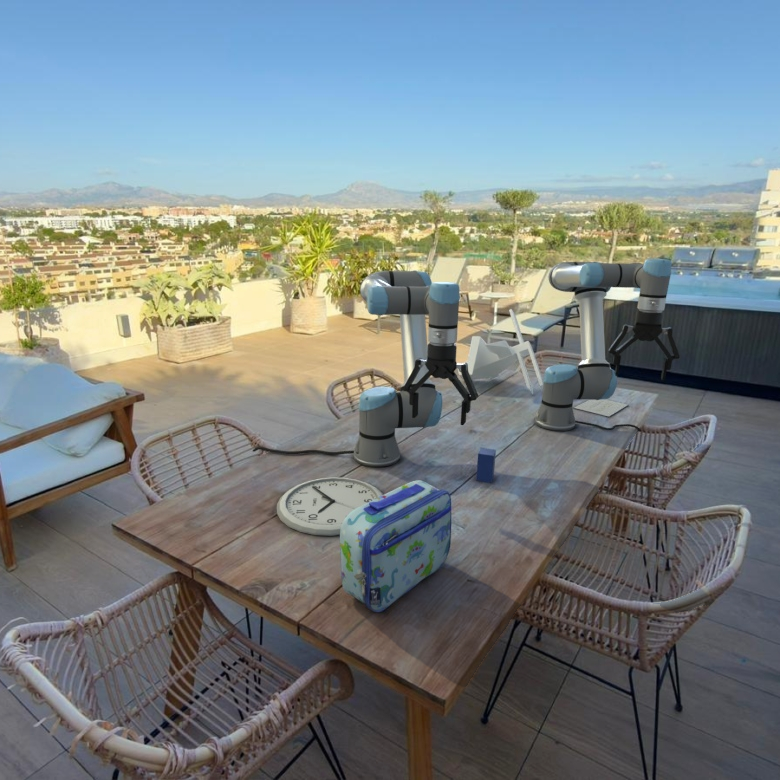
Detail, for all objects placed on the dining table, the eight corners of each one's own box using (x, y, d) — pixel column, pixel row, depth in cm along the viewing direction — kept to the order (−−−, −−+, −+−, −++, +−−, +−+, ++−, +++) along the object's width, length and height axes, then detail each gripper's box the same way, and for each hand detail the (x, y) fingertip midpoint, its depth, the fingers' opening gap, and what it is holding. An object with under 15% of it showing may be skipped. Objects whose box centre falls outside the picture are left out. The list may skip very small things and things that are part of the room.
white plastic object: (478, 423, 260) (457, 400, 235) (460, 349, 282) (438, 321, 257) (551, 399, 247) (536, 372, 223) (525, 323, 270) (510, 291, 245)
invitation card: (608, 416, 214) (573, 407, 224) (608, 416, 214) (573, 408, 224) (628, 404, 229) (594, 396, 238) (628, 405, 229) (594, 397, 238)
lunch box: (369, 626, 100) (370, 530, 93) (334, 598, 107) (332, 507, 101) (455, 567, 117) (460, 483, 111) (419, 547, 124) (423, 467, 118)
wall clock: (392, 527, 129) (268, 531, 127) (391, 533, 130) (269, 537, 127) (383, 473, 158) (282, 475, 155) (383, 478, 158) (282, 480, 156)
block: (476, 480, 158) (478, 453, 156) (478, 474, 163) (480, 447, 160) (491, 483, 157) (493, 455, 154) (493, 476, 161) (495, 449, 158)
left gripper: (392, 341, 137) (390, 417, 143) (486, 350, 128) (481, 431, 134) (402, 336, 143) (400, 409, 150) (492, 344, 135) (487, 422, 141)
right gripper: (607, 309, 161) (598, 376, 167) (698, 315, 153) (685, 384, 160) (606, 306, 168) (597, 370, 174) (693, 311, 160) (680, 378, 167)
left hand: (438, 420), depth 142 cm, fingers open, 13 cm apart
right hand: (639, 377), depth 167 cm, fingers open, 13 cm apart
